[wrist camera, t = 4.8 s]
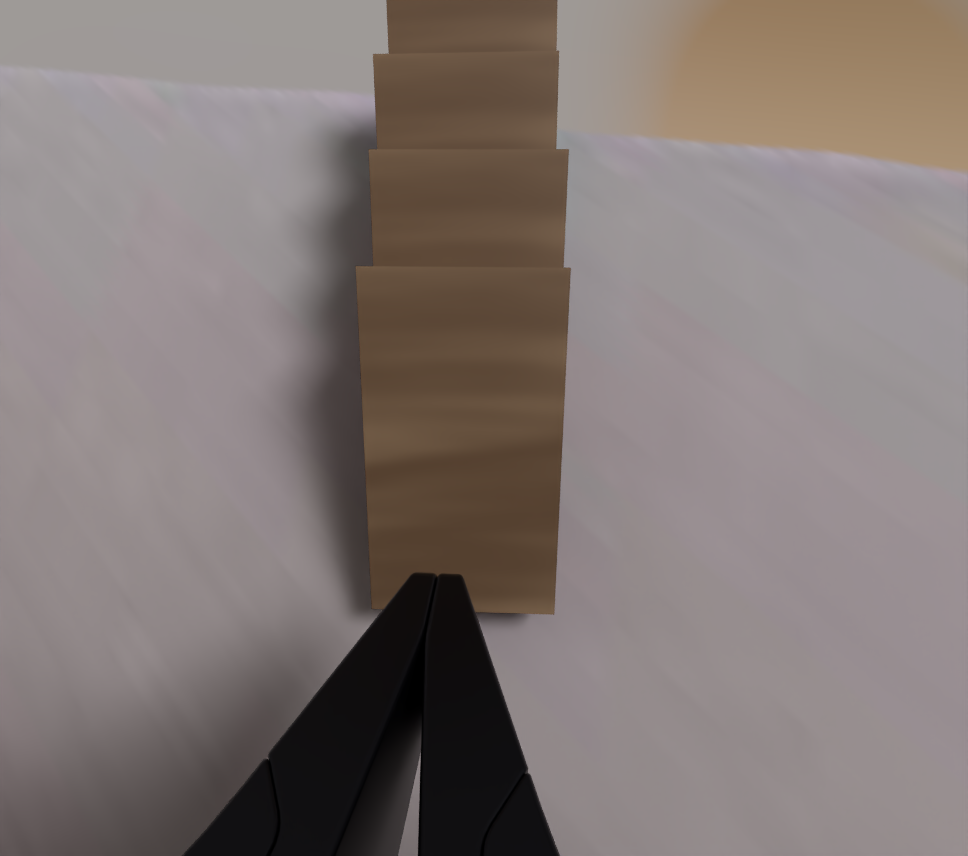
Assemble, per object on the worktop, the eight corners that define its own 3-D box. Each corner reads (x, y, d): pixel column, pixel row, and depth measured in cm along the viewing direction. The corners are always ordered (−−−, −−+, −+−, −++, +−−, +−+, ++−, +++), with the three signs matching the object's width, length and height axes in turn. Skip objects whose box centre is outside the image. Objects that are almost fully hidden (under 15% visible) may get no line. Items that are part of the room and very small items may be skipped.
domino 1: (554, 614, 14) (570, 267, 12) (371, 608, 14) (355, 265, 12) (549, 583, 15) (562, 272, 13) (385, 578, 15) (372, 271, 13)
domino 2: (553, 491, 14) (568, 149, 12) (381, 487, 15) (368, 149, 13) (548, 474, 16) (561, 167, 14) (393, 470, 16) (383, 166, 14)
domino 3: (549, 386, 15) (559, 50, 13) (387, 385, 16) (372, 53, 14) (544, 378, 17) (552, 78, 15) (397, 378, 17) (386, 80, 15)
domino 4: (551, 283, 16) (558, -44, 14) (398, 285, 16) (384, -38, 14) (547, 286, 18) (552, -8, 16) (407, 287, 18) (396, -3, 16)
